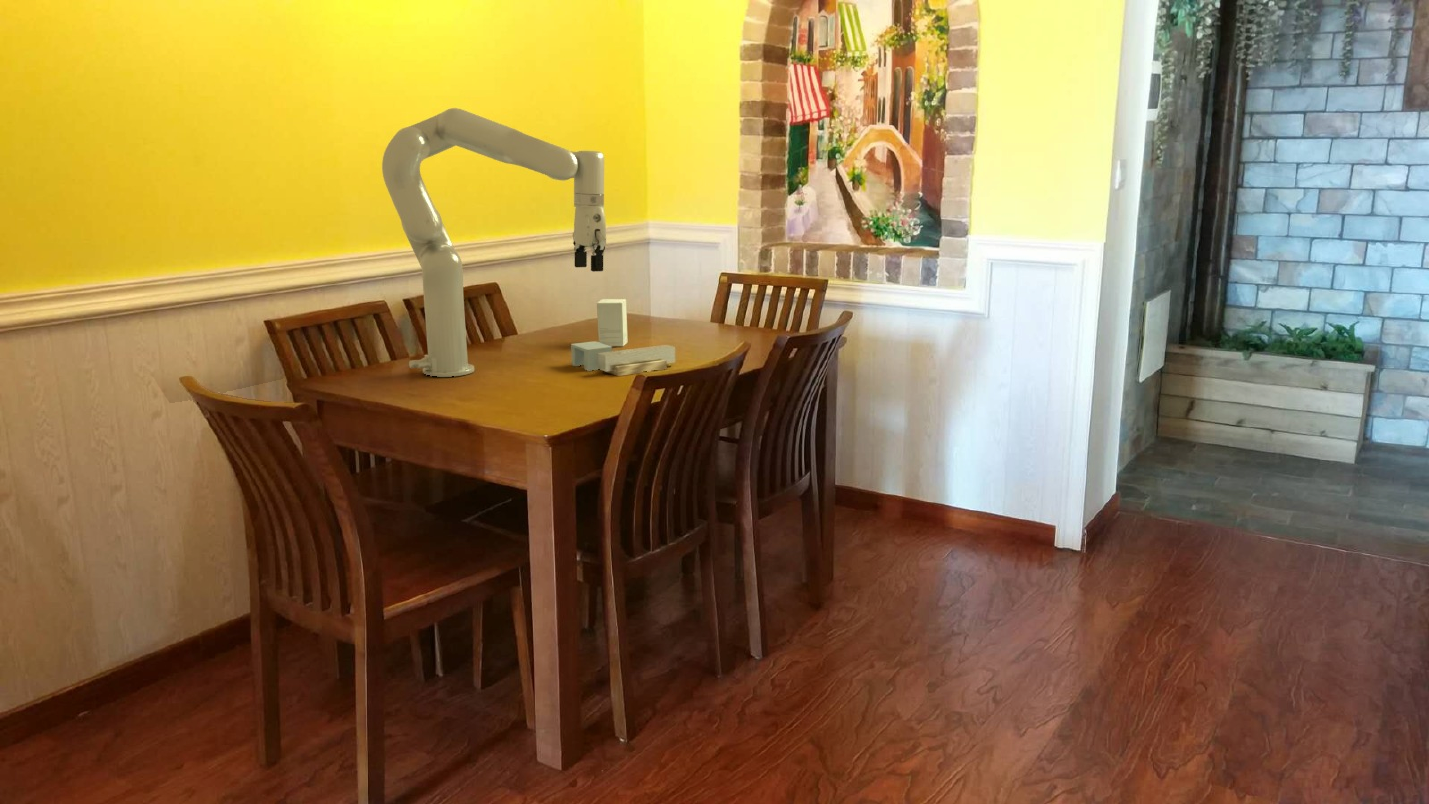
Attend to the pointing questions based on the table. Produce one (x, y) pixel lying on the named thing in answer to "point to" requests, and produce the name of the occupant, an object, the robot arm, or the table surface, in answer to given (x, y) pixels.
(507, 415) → the table surface
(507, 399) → the table surface
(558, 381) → the table surface
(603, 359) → the bar
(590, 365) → the grey arch block
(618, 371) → the cradle
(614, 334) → the supplement box
